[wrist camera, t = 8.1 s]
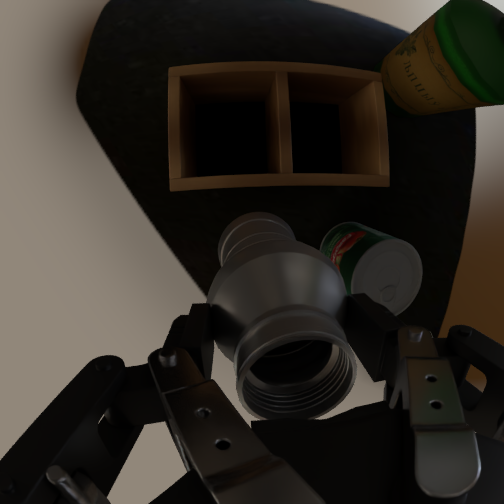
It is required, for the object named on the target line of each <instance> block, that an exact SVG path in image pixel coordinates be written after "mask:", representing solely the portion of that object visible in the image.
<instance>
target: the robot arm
mask: <svg viewBox="0 0 504 504" xmlns="http://www.w3.org/2000/svg"><path fill="white" fill-rule="evenodd" d="M347 299H348V305H347V317H346V323H345V326H344V333H345V335H346V339H347V342H348V343H349V345H350V346H351V348H352V349H353V351H354V352H355V354H356V355H357V357H358V358H359V360H360V361H361V363H362V365H363V366H364V368H365V369H366V371H367V372H368V374H369V375H370V377H371V378H372V380H373V381H374V382H378V381H383V380H386V384H385V387H384V400H383V401H380V402H376V403H372V404H368V405H363V406H359V407H355V408H353V409H350V410H348V411H346V412H343V413H341V414H338V415H335V416H333V417H330V418H328V419H322V420H319V419H295V418H281V419H271V420H257V421H251V428H250V426H249V425H248V424H247V423H246V422H245V420H244V419H243V418H242V416H241V415H240V414H239V413H238V411H237V410H236V409H235V407H234V406H233V405H232V403H231V402H230V401H229V399H228V398H227V397H226V395H225V394H224V393H223V391H222V390H221V388H220V387H219V386H218V384H217V383H216V382H215V381H214V380H213V379H211V372H212V363H213V354H214V338H213V331H212V322H211V307H210V303H203V304H202V303H200V304H192V306H191V309H190V313H189V315H180V316H179V317H178V318H176V319H175V320H174V321H173V323H172V326H171V328H170V331H169V334H168V336H167V338H166V340H165V343H164V345H163V348H160V349H157V350H155V351H153V352H152V353H151V354H150V355H149V357H148V363H146V364H143V365H138V366H131V367H125V364H124V361H123V360H122V359H121V358H120V357H117V356H113V355H105V356H100V357H97V358H95V359H93V360H92V361H90V362H89V363H88V364H87V365H86V366H85V367H84V368H83V369H82V370H81V371H80V372H79V373H78V374H77V375H76V376H75V377H74V379H73V380H72V381H71V382H70V383H69V384H68V385H67V386H66V387H65V388H64V389H63V390H62V391H61V392H60V394H59V395H58V396H57V397H56V398H55V399H54V400H53V401H52V402H51V403H50V404H49V405H48V407H47V408H46V409H45V410H44V411H43V412H42V413H41V414H40V415H39V417H38V418H37V419H36V420H35V421H34V422H33V423H32V424H31V426H30V427H29V428H28V429H27V430H26V431H25V433H23V435H22V436H21V437H20V438H19V439H18V440H17V442H16V443H15V444H14V445H13V446H12V448H10V450H9V451H8V452H7V453H6V454H5V456H4V457H3V458H2V459H1V460H0V504H111V503H110V502H109V500H108V499H107V496H108V494H109V492H110V490H111V488H112V486H113V484H114V483H115V481H116V479H117V477H118V475H119V473H120V471H121V469H122V467H123V465H124V463H125V462H126V460H127V458H128V456H129V454H130V452H131V450H132V448H133V446H134V444H135V442H136V441H137V439H138V437H139V435H140V433H141V431H142V429H143V427H144V425H145V424H151V423H157V422H164V421H165V422H166V425H167V427H168V429H169V432H170V434H171V436H172V439H173V441H174V443H175V445H176V448H177V450H178V452H179V454H180V456H181V459H182V461H183V463H184V466H185V468H186V470H187V473H186V474H185V475H184V476H182V477H181V478H180V479H179V480H178V481H177V482H175V483H174V484H173V485H172V486H170V487H169V488H168V489H167V490H165V491H164V492H163V493H162V494H160V495H159V496H158V497H157V498H155V499H154V500H153V501H151V502H150V503H149V504H504V346H502V345H501V344H499V343H497V342H496V341H494V340H492V339H491V338H489V337H487V336H486V335H484V334H482V333H481V332H479V331H477V330H476V329H474V328H472V327H469V326H466V325H455V326H452V327H451V328H450V329H449V333H448V336H447V338H433V337H432V334H431V332H430V331H429V330H427V329H425V328H423V327H420V326H414V325H409V326H406V325H405V324H404V323H403V322H402V321H401V320H400V319H399V318H398V317H396V316H395V315H394V314H393V313H392V312H390V310H389V309H388V308H387V307H385V306H384V305H382V304H379V303H377V302H374V301H373V300H372V299H371V298H370V297H369V296H368V295H367V294H366V293H356V294H349V295H348V296H347ZM471 364H472V365H473V366H474V367H476V368H477V369H479V370H480V371H481V372H483V373H484V374H485V376H486V379H487V383H486V387H485V389H484V391H483V393H482V392H481V391H479V390H478V389H477V388H476V387H474V386H473V385H472V384H471V383H469V382H468V381H467V380H466V379H465V378H466V375H467V373H468V370H469V367H470V365H471ZM103 414H104V417H103V418H102V420H101V421H100V423H99V420H100V419H101V417H102V416H103ZM98 423H99V424H98ZM475 432H476V433H475Z"/></svg>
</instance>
